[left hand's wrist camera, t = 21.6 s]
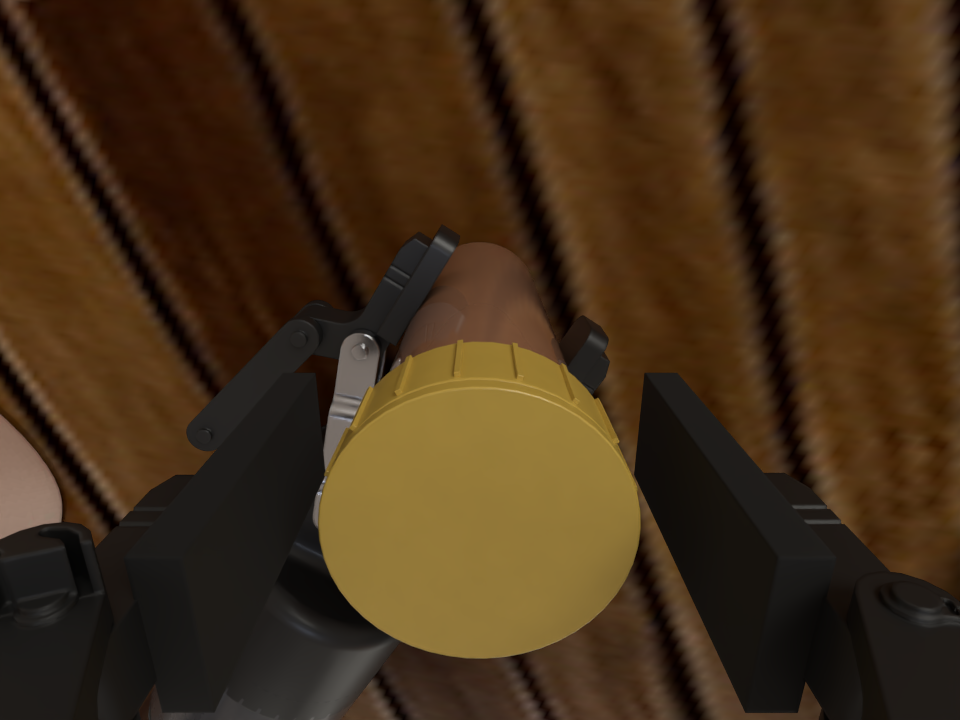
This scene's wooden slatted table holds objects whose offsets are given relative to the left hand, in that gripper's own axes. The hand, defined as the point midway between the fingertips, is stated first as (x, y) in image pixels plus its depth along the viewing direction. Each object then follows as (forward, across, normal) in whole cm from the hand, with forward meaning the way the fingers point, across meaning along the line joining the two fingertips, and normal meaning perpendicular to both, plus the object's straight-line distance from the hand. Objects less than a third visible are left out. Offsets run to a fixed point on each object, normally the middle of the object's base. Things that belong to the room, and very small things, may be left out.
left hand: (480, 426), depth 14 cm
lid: (-4, 0, 0) cm, 4 cm away
